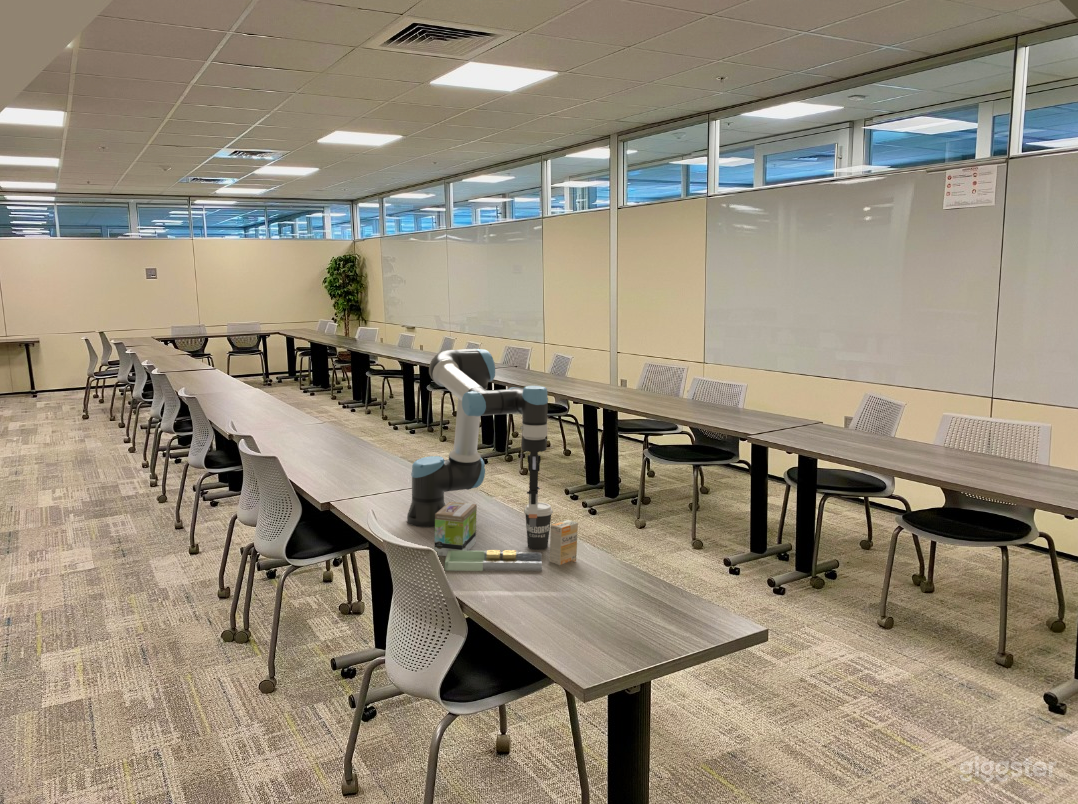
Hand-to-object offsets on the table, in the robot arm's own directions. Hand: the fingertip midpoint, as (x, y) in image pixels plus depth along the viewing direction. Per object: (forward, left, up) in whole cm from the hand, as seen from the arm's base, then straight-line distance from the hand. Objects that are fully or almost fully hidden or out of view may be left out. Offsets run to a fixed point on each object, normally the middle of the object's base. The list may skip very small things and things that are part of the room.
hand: (532, 512), depth 237 cm
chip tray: (0, -20, -18) cm, 27 cm away
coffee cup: (-17, +2, -18) cm, 25 cm away
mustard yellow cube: (0, -7, -17) cm, 18 cm away
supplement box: (-5, +10, -18) cm, 22 cm away
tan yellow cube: (0, -12, -17) cm, 21 cm away
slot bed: (0, -6, -18) cm, 19 cm away
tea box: (-14, -25, -18) cm, 34 cm away
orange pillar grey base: (0, 0, -4) cm, 4 cm away
